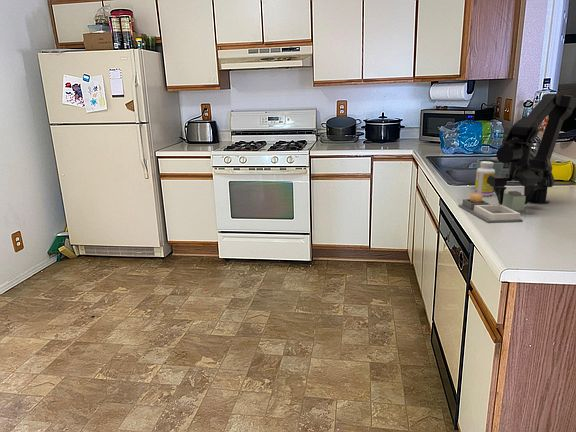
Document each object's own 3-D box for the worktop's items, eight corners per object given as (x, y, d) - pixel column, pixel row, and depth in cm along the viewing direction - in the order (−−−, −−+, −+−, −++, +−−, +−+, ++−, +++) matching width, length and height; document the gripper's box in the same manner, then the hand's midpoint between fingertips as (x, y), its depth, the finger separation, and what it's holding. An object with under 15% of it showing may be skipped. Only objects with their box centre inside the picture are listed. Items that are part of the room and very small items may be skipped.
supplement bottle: (495, 194, 175) (500, 162, 171) (485, 197, 171) (490, 164, 167) (480, 191, 180) (484, 160, 176) (470, 193, 176) (474, 161, 173)
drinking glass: (493, 186, 189) (496, 158, 185) (505, 192, 179) (509, 162, 176) (469, 186, 188) (472, 158, 185) (480, 192, 179) (484, 162, 175)
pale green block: (501, 206, 159) (503, 190, 157) (513, 205, 159) (515, 190, 158) (511, 210, 153) (513, 194, 152) (523, 210, 154) (526, 194, 152)
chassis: (458, 206, 158) (459, 198, 158) (488, 205, 160) (489, 197, 159) (487, 222, 139) (488, 214, 139) (522, 221, 140) (523, 213, 140)
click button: (467, 201, 156) (468, 193, 155) (477, 201, 157) (478, 192, 156) (472, 204, 152) (473, 196, 151) (483, 204, 153) (484, 195, 152)
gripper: (507, 165, 143) (500, 211, 147) (561, 164, 145) (553, 209, 149) (488, 159, 154) (483, 202, 158) (539, 158, 155) (532, 201, 160)
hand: (513, 204), depth 156 cm, fingers open, 9 cm apart
